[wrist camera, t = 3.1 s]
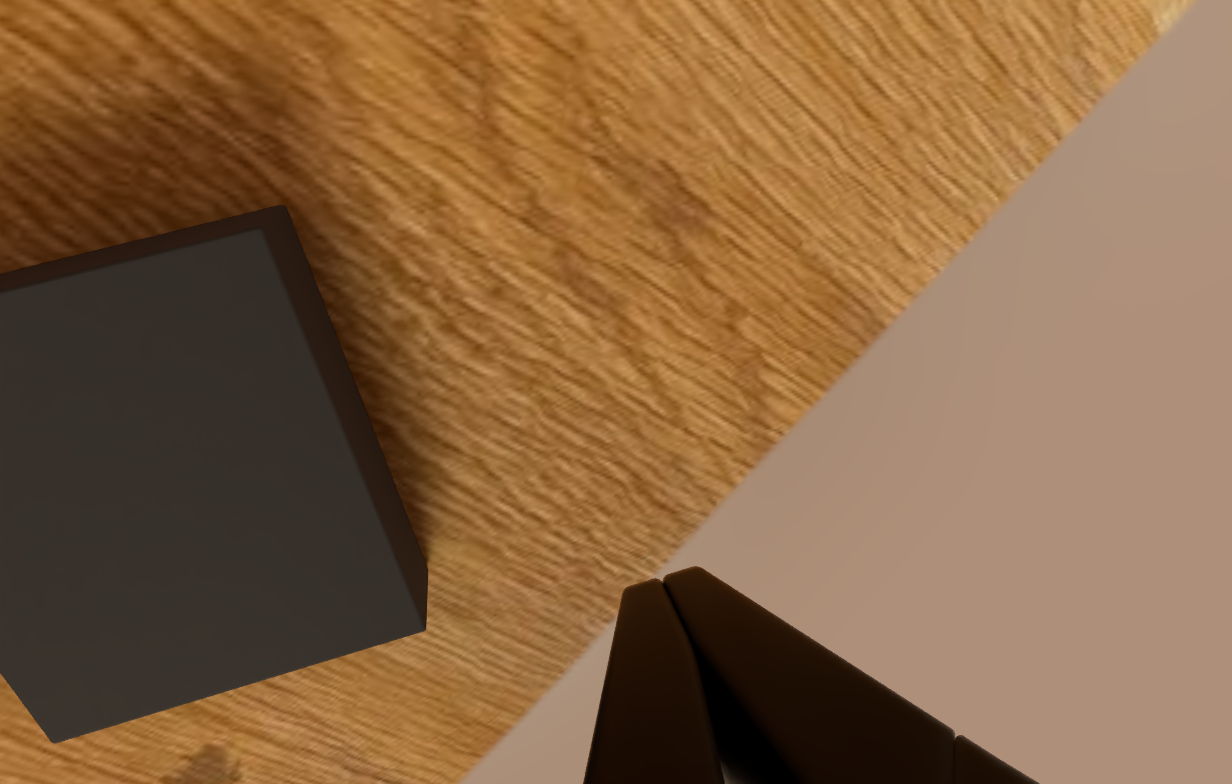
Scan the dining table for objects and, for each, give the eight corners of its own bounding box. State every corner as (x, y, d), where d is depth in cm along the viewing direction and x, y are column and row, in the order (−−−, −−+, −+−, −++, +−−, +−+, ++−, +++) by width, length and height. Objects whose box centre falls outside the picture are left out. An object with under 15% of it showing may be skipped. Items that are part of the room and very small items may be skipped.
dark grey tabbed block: (428, 570, 17) (427, 631, 15) (-46, 711, 16) (-108, 795, 14) (285, 203, 13) (260, 225, 12) (-330, 354, 12) (-461, 404, 11)
